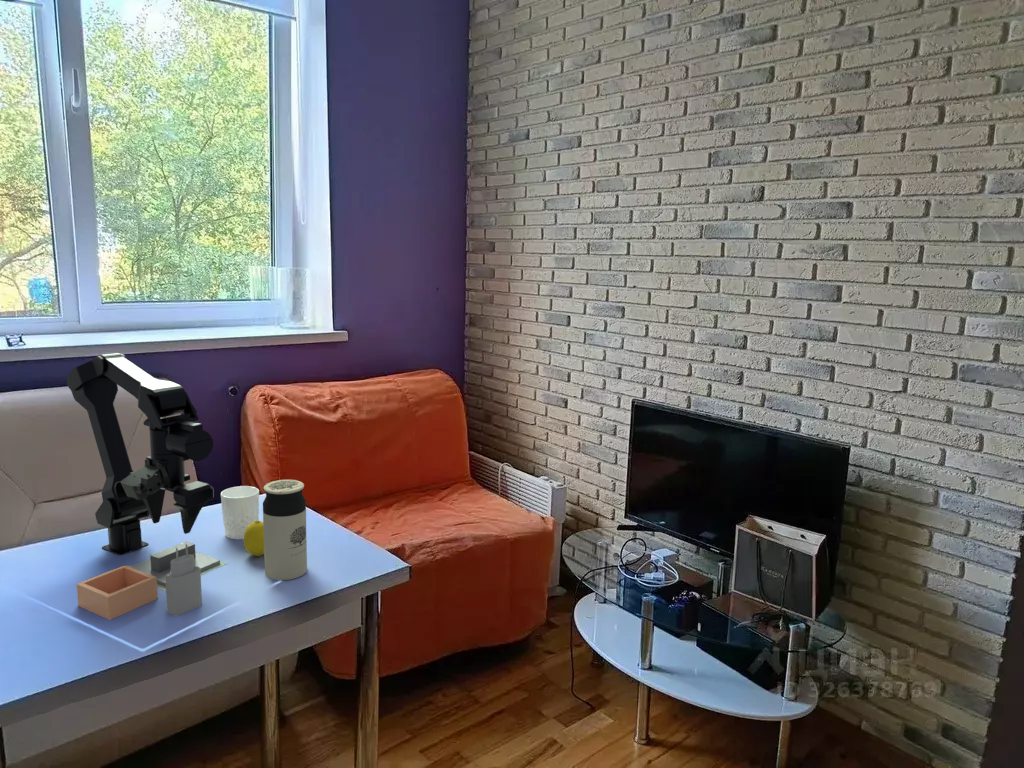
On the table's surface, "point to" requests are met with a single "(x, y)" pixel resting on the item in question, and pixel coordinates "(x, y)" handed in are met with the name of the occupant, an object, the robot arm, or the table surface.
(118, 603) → the dish
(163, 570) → the lid
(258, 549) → the lemon
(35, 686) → the table surface
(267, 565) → the travel mug
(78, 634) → the table surface
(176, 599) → the power adapter
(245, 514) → the white cup
